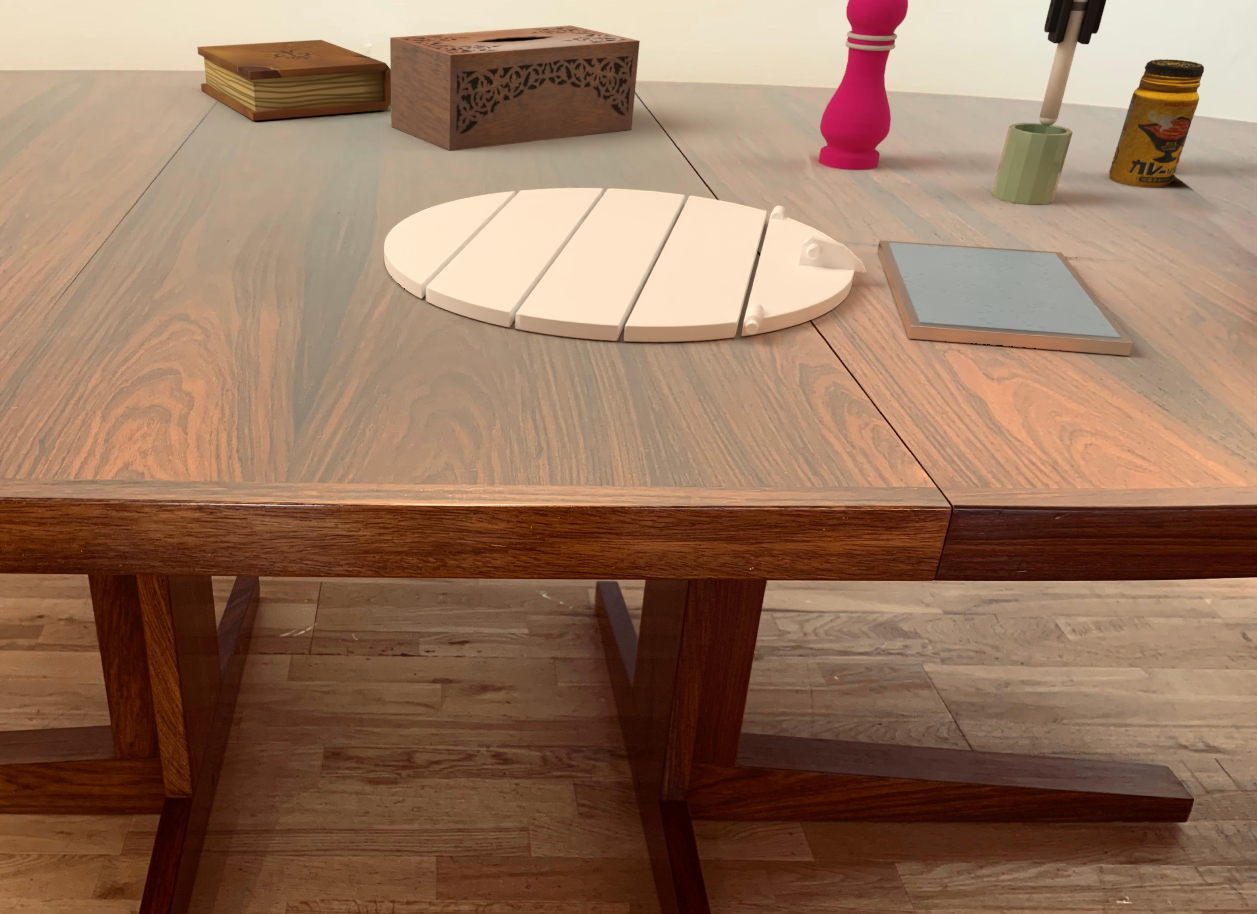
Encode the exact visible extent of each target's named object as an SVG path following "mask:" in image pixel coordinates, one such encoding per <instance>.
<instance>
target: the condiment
mask: <svg viewBox="0 0 1257 914" xmlns="http://www.w3.org/2000/svg"><path fill="white" fill-rule="evenodd" d="M1204 72H1205V67H1204V65H1203V64H1201V63H1199V62H1197V61H1191V60H1190V61H1189V60H1182V59H1161V58H1160V59H1153V60H1150V61H1147V63H1146V64H1145V65H1144V72H1143V74H1142V76H1141V78H1140V80H1139V84H1138V87H1136V89H1134V91H1133V93H1132V96H1131V99H1130V103H1129V105H1128V109H1127V112H1126V116H1125V119H1124V121H1123V126H1122V129H1121V132H1120V135H1119V138H1118V141H1117V146H1116V148H1115V151H1114V155H1113V157H1112V161H1111V165H1110V168H1109V170H1108V173H1109V174H1108V175H1109V180H1110V181H1112V182H1114V183H1117V184H1120V185H1125V186H1130V187H1134V188H1135V187H1137V188H1146V189H1149V188H1150V189H1157V188H1158V189H1159V188H1166V187H1169V186H1170V183H1171V182H1173V179H1174V178H1175V173H1176V171H1177V167H1178V164H1179V163H1180V158H1181V154H1182V152H1183V149H1184V147H1185V144H1186V141H1187V139H1188V138H1187V137H1188V134H1189V131H1190V128H1191V125H1192V122H1193V119H1194V116H1195V114H1196V110H1197V108H1198V105H1199V101H1200V95H1199V93H1198V89H1199V88H1200V86H1201V80H1202V77H1203V74H1204Z"/></svg>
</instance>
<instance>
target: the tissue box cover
mask: <svg viewBox="0 0 1257 914" xmlns="http://www.w3.org/2000/svg"><path fill="white" fill-rule="evenodd" d="M640 43H641V42H640V40H638V39H634V38H629V37H626V36H625V37H624V36H620V35H616V34H612V33H611V34H610V33H606V32H601V31H598V30H593V29H589V28H585V27H580V26H575V25H572V24H571V25H570V24H569V25H555V26H543V27H528V28H512V29H497V30H482V31H481V30H480V31H468V32H452V33H438V34H424V35H423V34H421V35H409V36H408V35H407V36H394V37H389V46H390V47H389V49H390V50H389V53H390V56H389V57H390V59H389V60H390V69H391V104H390V127H391V128H394V129H396V130H398V131H401V132H403V133H406V134H408V135H411V136H412V137H416V138H418V139H420V140H423V141H426V142H428V143H430V144H433V145H435V146H437V147H440V148H442V149H445V150H447V151H458V150H466V149H475V148H483V147H492V146H500V145H501V146H502V145H508V144H518V143H519V144H520V143H528V142H535V141H543V140H551V139H561V138H562V139H563V138H570V137H578V136H588V135H597V134H607V133H614V132H622V131H630V130H631V131H632V128H633V120H634V119H633V118H634V108H635V95H636V84H637V74H638V64H639V63H638V62H639V51H640V50H639V49H640Z"/></svg>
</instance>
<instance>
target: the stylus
mask: <svg viewBox="0 0 1257 914" xmlns="http://www.w3.org/2000/svg"><path fill="white" fill-rule="evenodd" d="M1087 3H1088V0H1074V1H1073V5H1072V9H1071V13H1070V17H1069V21H1068V25H1067V29H1066V33H1065V37H1064V40H1063V42H1061V43H1060V44H1058V43H1057V45H1056V51H1055V54H1054V57H1053V62H1052V66H1051V68H1050V69H1051V70H1050V72H1049V73H1050V74H1049V78H1048V82H1047V86H1046V90H1045V94H1044V98H1043V102H1042V105H1041V110H1040V112H1039V113H1040V114H1039V123H1040V124H1042V125H1044V126H1051V125H1055V123H1056V122H1057V121H1058V119H1059V115H1060V111H1061V107H1062V104H1063V103H1062V102H1063V99H1064V95H1065V92H1066V87H1067V84H1068V79H1069V76H1070V72H1071V68H1072V64H1073V60H1074V57H1075V52H1076V49H1077V46H1078V45H1077V44H1078V42H1077V41H1078V37H1079V33H1080V29H1081V26H1082V22H1083V18H1084V14H1085V10H1086V7H1087Z"/></svg>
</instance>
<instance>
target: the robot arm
mask: <svg viewBox="0 0 1257 914" xmlns="http://www.w3.org/2000/svg"><path fill="white" fill-rule="evenodd" d="M1073 1H1074V0H1050V2H1049V5H1048V11H1047V15H1046V18H1045V23H1044V29H1043V31H1044V32H1045V33H1048V34H1047V41H1049V42H1050V43H1052V44H1057V45H1058V44H1060V43H1061V42H1063V40H1064V37H1065V33H1066V29H1067V25H1068V21H1069V17H1070V13H1071V9H1072V5H1073ZM1106 4H1107V0H1088V3H1087V7H1086V10H1085V14H1084V18H1083V22H1082V26H1081V29H1080V33H1079V37H1078V41H1077V43H1079V44H1081V45H1089V44H1090V42H1091V38H1092V35H1096V34H1098V32H1099V29H1100V25H1101V23H1102V18H1103V15H1104V11H1105V8H1106Z"/></svg>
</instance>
